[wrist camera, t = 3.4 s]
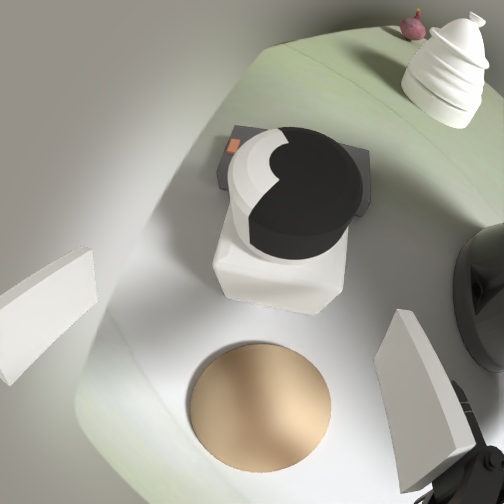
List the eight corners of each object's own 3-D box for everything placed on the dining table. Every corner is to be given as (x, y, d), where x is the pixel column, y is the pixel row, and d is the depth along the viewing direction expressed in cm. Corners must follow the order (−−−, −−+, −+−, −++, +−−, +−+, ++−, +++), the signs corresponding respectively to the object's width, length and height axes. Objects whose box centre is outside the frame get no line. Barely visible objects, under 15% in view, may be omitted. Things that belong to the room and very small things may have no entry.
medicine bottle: (327, 233, 23) (375, 128, 12) (316, 317, 21) (380, 258, 10) (245, 217, 24) (236, 102, 13) (224, 298, 21) (189, 221, 10)
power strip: (361, 167, 26) (370, 148, 24) (361, 216, 24) (371, 199, 21) (236, 142, 27) (234, 123, 25) (219, 188, 25) (216, 169, 23)
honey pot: (425, 75, 36) (453, -1, 19) (477, 121, 31) (520, 46, 15) (385, 80, 33) (414, -15, 17) (447, 135, 29) (501, 37, 12)
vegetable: (424, 46, 42) (435, 15, 33) (414, 48, 41) (425, 14, 32) (404, 34, 44) (413, 4, 35) (392, 35, 43) (401, 2, 34)
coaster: (273, 317, 21) (273, 316, 20) (354, 414, 17) (357, 415, 17) (166, 393, 18) (163, 394, 18) (248, 490, 15) (247, 493, 15)
